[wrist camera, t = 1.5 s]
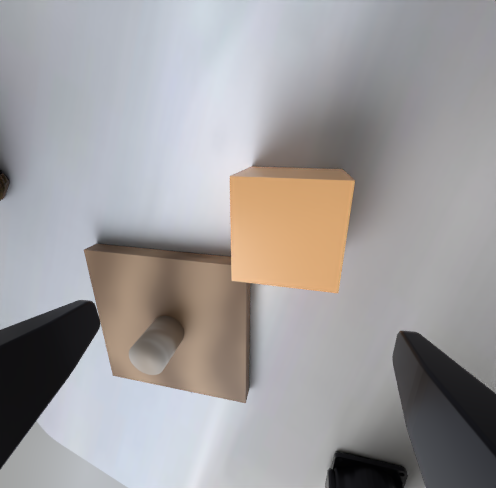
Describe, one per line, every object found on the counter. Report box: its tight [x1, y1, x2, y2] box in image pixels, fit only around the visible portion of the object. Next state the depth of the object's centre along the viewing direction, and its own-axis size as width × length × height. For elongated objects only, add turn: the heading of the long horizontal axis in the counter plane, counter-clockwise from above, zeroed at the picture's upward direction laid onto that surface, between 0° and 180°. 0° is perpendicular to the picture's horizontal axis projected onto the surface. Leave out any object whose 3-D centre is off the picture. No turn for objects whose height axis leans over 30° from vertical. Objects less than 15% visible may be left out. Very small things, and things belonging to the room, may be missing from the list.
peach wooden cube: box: [230, 166, 355, 293], centre depth 17 cm, size 6×6×6 cm
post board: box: [84, 244, 250, 403], centre depth 23 cm, size 14×14×5 cm
